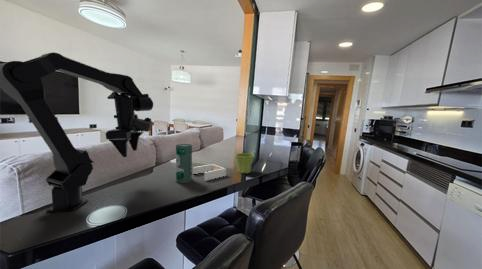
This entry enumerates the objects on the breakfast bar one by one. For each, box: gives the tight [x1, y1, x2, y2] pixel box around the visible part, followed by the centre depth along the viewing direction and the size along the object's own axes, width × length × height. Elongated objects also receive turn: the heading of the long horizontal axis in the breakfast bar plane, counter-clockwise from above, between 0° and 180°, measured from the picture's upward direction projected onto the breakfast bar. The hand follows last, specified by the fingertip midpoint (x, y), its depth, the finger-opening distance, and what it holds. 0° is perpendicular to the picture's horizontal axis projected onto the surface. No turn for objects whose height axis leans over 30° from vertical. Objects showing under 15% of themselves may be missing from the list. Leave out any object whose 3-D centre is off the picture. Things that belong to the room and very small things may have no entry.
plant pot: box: [234, 152, 255, 174], centre depth 92 cm, size 9×9×9 cm
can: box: [175, 143, 193, 184], centre depth 77 cm, size 6×6×15 cm
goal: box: [192, 163, 227, 182], centre depth 85 cm, size 11×11×4 cm
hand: (130, 153), depth 70 cm, fingers open, 9 cm apart
